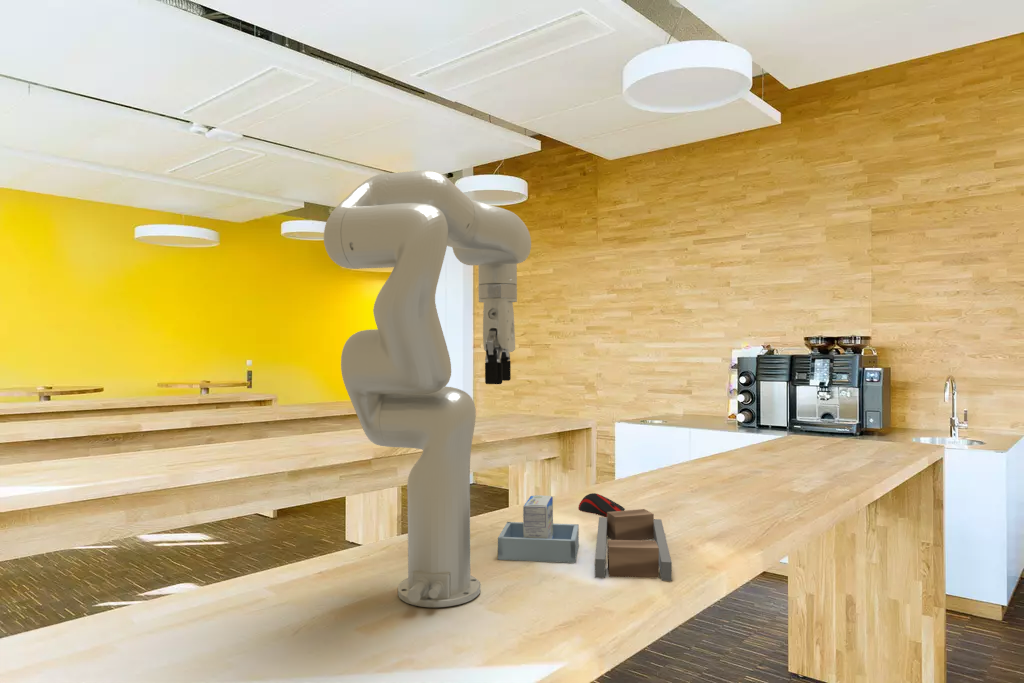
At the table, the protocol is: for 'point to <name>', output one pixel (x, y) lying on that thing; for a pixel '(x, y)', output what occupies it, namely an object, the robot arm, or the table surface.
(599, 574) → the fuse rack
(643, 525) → the far walnut block
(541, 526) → the medicine box
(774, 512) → the table surface
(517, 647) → the table surface
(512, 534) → the tray
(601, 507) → the computer mouse
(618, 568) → the near walnut block
